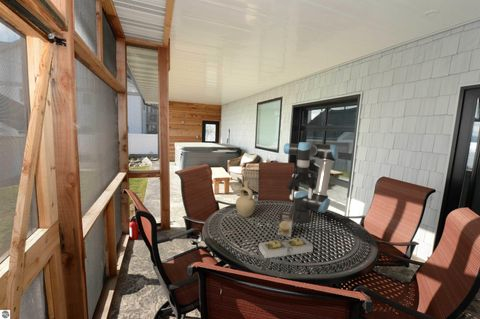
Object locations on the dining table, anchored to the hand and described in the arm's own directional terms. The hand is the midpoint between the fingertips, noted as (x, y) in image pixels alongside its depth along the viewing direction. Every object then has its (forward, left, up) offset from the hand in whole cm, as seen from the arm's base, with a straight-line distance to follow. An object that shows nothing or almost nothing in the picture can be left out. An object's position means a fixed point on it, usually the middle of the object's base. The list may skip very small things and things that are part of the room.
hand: (300, 198), depth 147 cm
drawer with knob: (+22, +10, -29) cm, 37 cm away
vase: (+21, -48, -29) cm, 60 cm away
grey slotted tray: (+14, +10, -29) cm, 33 cm away
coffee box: (+4, -10, -29) cm, 31 cm away
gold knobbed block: (+7, +10, -29) cm, 31 cm away
